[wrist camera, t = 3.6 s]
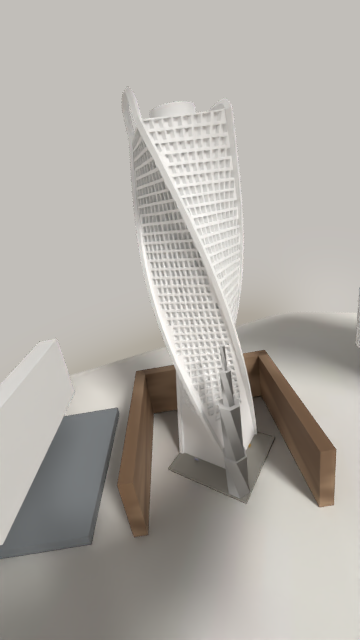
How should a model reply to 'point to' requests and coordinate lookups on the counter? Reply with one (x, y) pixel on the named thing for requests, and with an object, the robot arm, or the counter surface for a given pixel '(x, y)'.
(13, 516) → the robot arm
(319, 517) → the counter surface
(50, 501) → the slate mat
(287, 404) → the walnut bay
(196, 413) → the twisted skyscraper model
